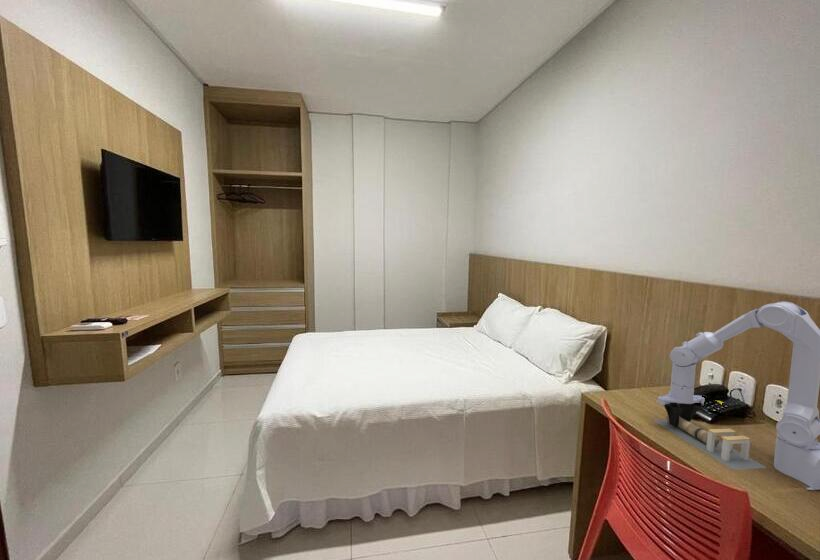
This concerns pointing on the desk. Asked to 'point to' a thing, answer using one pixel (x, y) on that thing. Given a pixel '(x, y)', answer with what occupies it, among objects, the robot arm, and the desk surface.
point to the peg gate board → (720, 446)
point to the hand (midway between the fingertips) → (678, 425)
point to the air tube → (694, 430)
